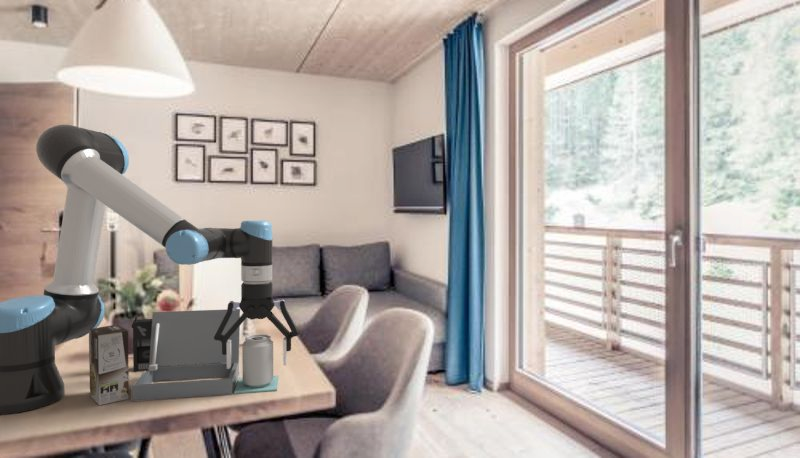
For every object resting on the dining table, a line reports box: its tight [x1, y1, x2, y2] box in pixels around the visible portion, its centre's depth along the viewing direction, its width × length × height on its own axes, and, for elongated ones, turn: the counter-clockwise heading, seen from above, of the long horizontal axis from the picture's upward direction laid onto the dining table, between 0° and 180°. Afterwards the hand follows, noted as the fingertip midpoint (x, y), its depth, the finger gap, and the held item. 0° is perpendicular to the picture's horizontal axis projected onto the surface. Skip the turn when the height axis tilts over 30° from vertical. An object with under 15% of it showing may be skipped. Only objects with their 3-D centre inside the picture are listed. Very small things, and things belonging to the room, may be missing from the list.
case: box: [131, 308, 241, 402], centre depth 120 cm, size 22×18×17 cm
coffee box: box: [88, 324, 130, 406], centre depth 112 cm, size 9×6×16 cm
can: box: [241, 333, 274, 388], centre depth 120 cm, size 8×8×12 cm
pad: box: [233, 375, 279, 395], centre depth 120 cm, size 10×10×1 cm
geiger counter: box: [131, 314, 159, 373], centre depth 133 cm, size 10×4×15 cm, turn 110°
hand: (257, 365), depth 120 cm, fingers open, 13 cm apart
